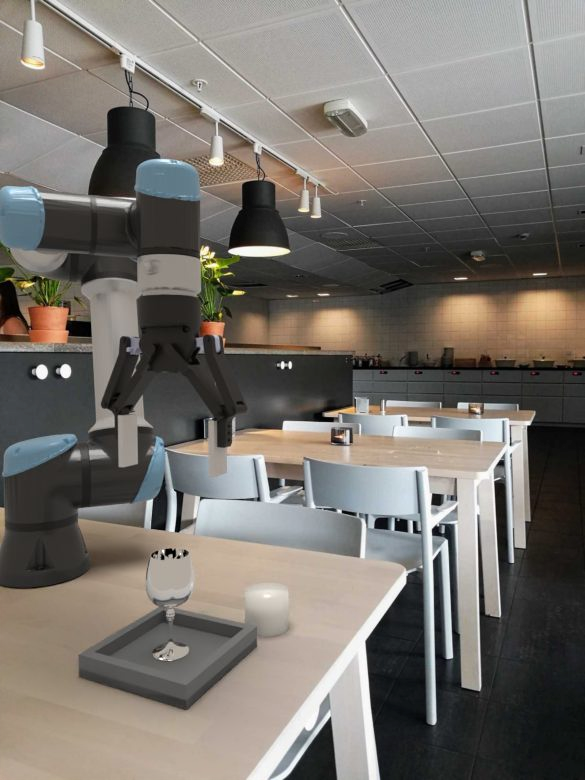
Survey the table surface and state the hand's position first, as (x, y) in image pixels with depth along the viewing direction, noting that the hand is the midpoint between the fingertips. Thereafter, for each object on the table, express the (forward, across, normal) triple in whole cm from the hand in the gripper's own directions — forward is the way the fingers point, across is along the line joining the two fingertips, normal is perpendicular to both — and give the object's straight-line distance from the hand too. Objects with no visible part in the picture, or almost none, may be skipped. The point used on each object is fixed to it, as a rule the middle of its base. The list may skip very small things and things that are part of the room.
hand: (171, 470), depth 71 cm
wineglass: (+22, +1, -2) cm, 22 cm away
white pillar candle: (+23, +7, +11) cm, 27 cm away
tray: (+23, +1, -2) cm, 23 cm away
